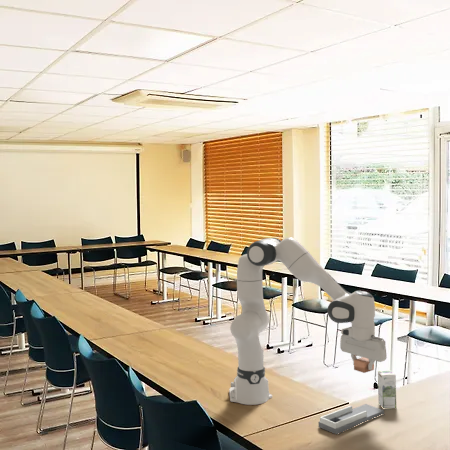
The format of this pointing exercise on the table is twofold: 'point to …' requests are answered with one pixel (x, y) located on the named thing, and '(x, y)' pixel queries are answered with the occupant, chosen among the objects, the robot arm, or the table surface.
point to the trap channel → (348, 418)
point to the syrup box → (387, 389)
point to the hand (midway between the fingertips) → (362, 367)
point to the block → (362, 365)
